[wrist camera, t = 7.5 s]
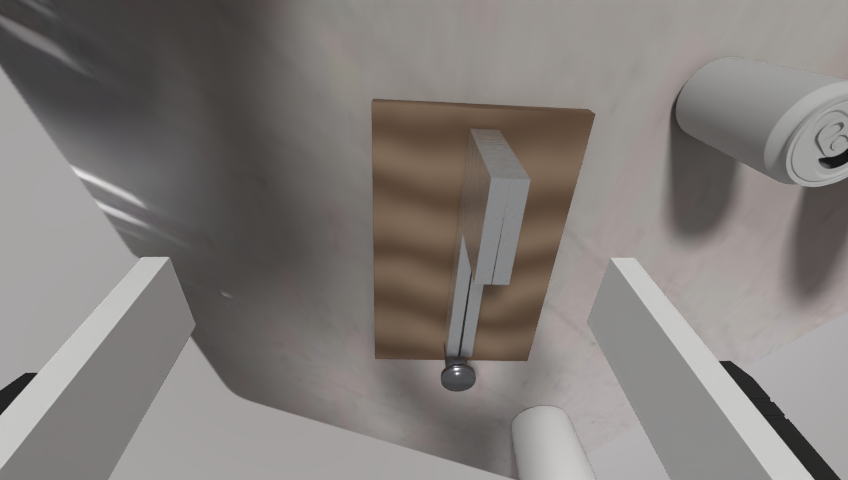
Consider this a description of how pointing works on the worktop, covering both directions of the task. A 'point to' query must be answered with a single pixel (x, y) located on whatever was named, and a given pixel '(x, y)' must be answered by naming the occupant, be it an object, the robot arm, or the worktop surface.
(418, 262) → the walnut board
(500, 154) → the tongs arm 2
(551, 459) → the candle holder
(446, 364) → the tongs hinge post
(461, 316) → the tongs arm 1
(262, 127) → the worktop surface
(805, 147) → the beverage can
